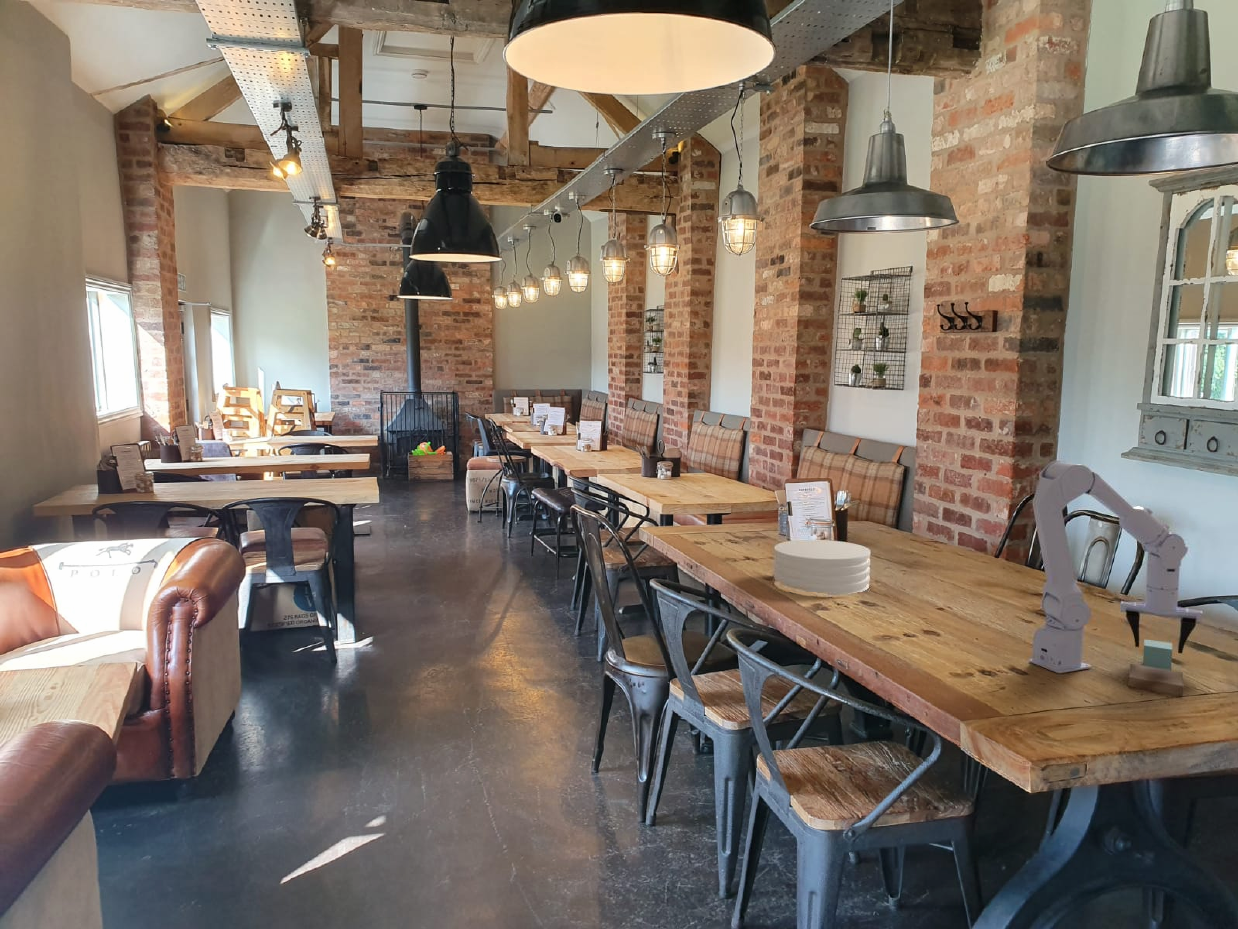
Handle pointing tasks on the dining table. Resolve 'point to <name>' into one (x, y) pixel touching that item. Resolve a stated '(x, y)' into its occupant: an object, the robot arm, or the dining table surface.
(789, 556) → the plate stack
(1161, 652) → the teal cube
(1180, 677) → the walnut base
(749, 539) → the dining table surface
